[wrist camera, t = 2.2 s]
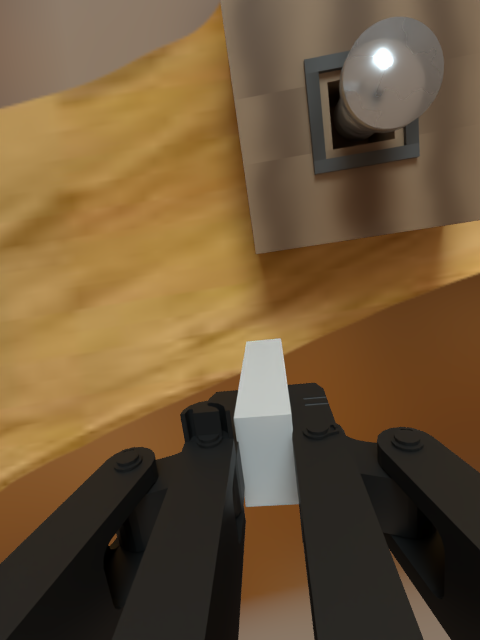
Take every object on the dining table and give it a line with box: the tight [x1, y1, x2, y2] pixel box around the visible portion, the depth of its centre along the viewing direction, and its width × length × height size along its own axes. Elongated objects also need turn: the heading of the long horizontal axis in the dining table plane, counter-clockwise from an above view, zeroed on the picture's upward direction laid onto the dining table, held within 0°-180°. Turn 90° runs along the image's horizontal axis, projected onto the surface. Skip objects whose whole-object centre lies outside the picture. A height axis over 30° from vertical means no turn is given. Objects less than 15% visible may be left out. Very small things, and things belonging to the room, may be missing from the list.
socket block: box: [220, 0, 480, 254], centre depth 33 cm, size 20×20×8 cm
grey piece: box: [333, 17, 444, 141], centre depth 26 cm, size 6×6×8 cm
